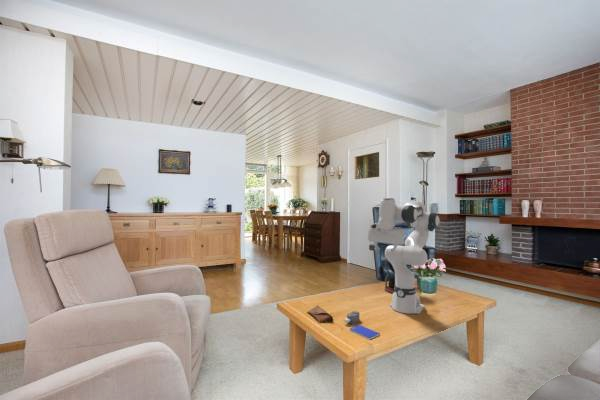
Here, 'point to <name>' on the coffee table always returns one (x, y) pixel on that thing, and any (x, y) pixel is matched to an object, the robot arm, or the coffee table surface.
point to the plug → (352, 317)
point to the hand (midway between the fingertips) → (384, 251)
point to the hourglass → (392, 279)
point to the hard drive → (364, 332)
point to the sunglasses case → (320, 315)
